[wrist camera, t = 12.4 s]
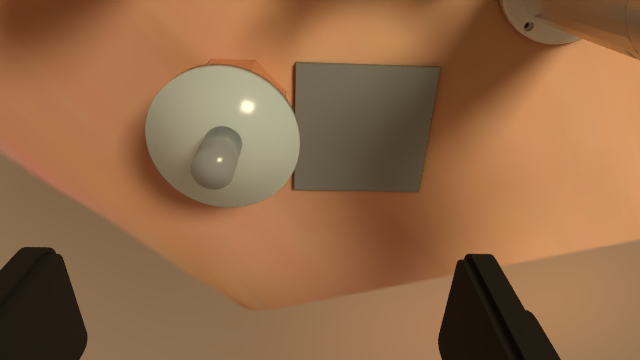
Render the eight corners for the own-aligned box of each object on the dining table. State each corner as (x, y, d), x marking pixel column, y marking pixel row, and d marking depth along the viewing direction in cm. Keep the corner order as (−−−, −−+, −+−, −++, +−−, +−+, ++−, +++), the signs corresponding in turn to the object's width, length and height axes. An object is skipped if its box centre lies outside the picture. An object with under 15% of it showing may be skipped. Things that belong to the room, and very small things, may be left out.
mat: (439, 66, 42) (440, 68, 42) (417, 189, 49) (418, 192, 49) (295, 61, 42) (295, 63, 41) (294, 186, 49) (294, 189, 48)
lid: (301, 66, 35) (299, 89, 30) (298, 201, 41) (297, 241, 36) (137, 60, 35) (106, 84, 29) (161, 199, 41) (139, 239, 36)
